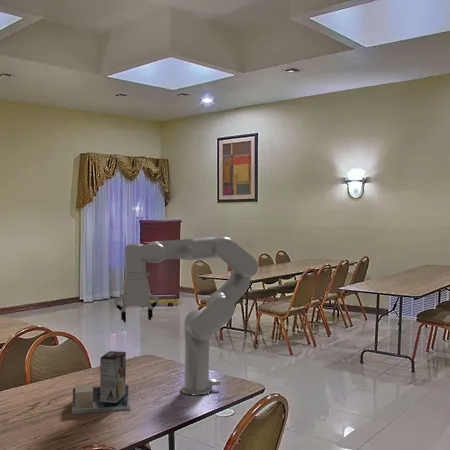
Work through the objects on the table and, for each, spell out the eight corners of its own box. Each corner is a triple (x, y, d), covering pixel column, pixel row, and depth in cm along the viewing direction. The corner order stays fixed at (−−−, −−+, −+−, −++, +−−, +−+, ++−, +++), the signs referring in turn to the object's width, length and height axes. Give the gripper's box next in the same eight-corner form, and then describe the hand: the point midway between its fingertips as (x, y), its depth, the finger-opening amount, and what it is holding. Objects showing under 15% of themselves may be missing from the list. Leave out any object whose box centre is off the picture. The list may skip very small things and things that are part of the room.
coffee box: (109, 393, 201) (109, 350, 200) (125, 394, 200) (126, 351, 199) (99, 402, 192) (100, 357, 191) (116, 403, 191) (117, 358, 190)
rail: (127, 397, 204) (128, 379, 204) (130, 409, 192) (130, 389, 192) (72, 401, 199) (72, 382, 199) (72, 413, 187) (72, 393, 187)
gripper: (156, 273, 213) (157, 317, 213) (111, 276, 208) (113, 320, 208) (160, 276, 206) (161, 320, 206) (113, 278, 200) (115, 324, 201)
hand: (137, 320), depth 207 cm, fingers open, 9 cm apart
